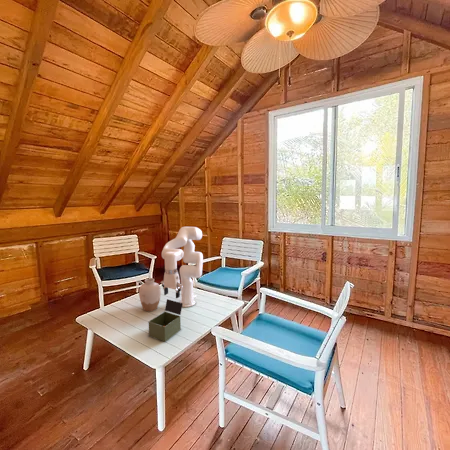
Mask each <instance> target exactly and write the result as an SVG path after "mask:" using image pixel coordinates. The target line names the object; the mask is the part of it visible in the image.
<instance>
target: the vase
mask: <svg viewBox="0 0 450 450" xmlns="http://www.w3.org/2000/svg"><path fill="white" fill-rule="evenodd" d="M161 295H162V291H161V285H160V284H159V283H157V282H155V278H152V277H149V278H146V279H144V283H142V284H141V285H140V286H139V289H138V296H139V302H140V304H141V307H142V308H143V310H144V311H145V312H153V311H156V310H157V309H158V307H159V305H160V301H161Z"/></svg>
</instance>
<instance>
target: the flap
mask: <svg viewBox="0 0 450 450" xmlns="http://www.w3.org/2000/svg"><path fill="white" fill-rule="evenodd" d="M182 304H183V303H180V301H176V300H173V299H166V303H165V307H164V312H169V313H172V314H175V315H179V316H181V314H182V309H183V306H182Z"/></svg>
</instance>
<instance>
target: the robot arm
mask: <svg viewBox="0 0 450 450" xmlns="http://www.w3.org/2000/svg"><path fill="white" fill-rule="evenodd" d="M202 238H203V231H202V229H200V228H199V227H197V226H181V228H179V230H178V232H177V235H176V236H175V238H172V239H171V240H169V241H168V242H166V243H165V245H164V246H163V248H162V251H161V258H162V259H163V260H164V275H163V280H161V281H160V284H161V287H162V289H163V295H164V296H166V295H168V294H169V289H172V290H174V291H175V299H179V298H180V299H181V300H180V301H179V303H183V304H182V308H183V307H184V308H189V307H193V306H195V305H196V300H195V298H197V295H196V294H194V280H193V279H199V278H200V279H201V277H202V276H203V265H204V254H203V253H202V252H201V251H195V249H196V248H195V247H196V245H195V243H194V241H201V239H202ZM182 247H183V249H181V248H182ZM181 260H182V261H183V263H185V264H183V265H181V266H180V267H179V270H178V262H179V261H181Z"/></svg>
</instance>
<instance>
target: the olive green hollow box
mask: <svg viewBox="0 0 450 450" xmlns="http://www.w3.org/2000/svg"><path fill="white" fill-rule="evenodd" d="M164 326H165V327H164ZM181 326H182V325H181V315H178V314H175V313H172V312H168V311H162V313H160V314H158V315H157V316H155V317H153V318H152V319H150V320H149V321H148V337H151V338H153V339H156V340H158V341H161V342H165V343H166V342H167V341H168V340H169V339H171V338H172V337H173V336H175V335H176V334H177V333H179V332H180V331H181V329H182V328H181Z"/></svg>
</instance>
